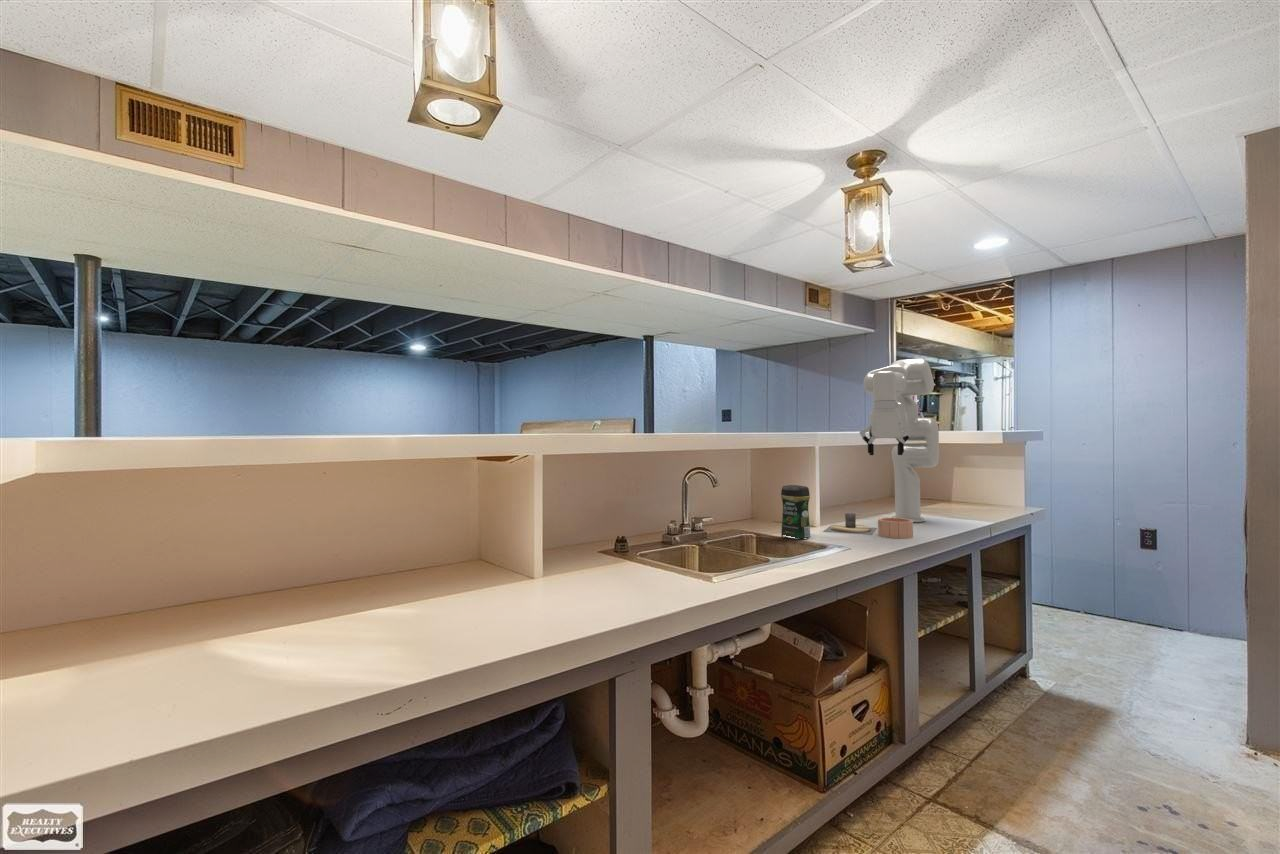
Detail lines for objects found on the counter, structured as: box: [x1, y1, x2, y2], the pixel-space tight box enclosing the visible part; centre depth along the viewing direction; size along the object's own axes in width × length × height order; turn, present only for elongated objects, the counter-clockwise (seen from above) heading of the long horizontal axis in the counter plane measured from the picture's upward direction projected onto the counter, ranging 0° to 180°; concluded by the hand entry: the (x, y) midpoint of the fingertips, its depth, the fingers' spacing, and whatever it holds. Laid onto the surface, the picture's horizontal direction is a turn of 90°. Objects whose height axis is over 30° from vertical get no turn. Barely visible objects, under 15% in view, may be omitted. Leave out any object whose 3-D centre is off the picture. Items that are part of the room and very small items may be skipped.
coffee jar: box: [780, 484, 811, 539], centre depth 207 cm, size 10×8×19 cm
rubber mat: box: [822, 524, 878, 536], centre depth 219 cm, size 17×17×1 cm
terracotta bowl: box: [877, 517, 914, 539], centre depth 206 cm, size 11×11×6 cm
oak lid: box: [830, 512, 871, 534], centre depth 219 cm, size 14×14×6 cm
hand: (885, 455), depth 206 cm, fingers open, 9 cm apart
